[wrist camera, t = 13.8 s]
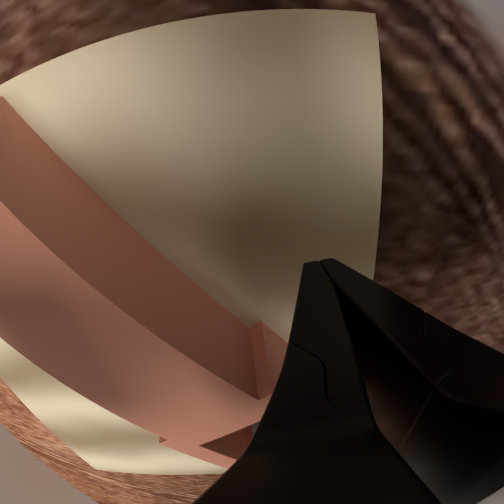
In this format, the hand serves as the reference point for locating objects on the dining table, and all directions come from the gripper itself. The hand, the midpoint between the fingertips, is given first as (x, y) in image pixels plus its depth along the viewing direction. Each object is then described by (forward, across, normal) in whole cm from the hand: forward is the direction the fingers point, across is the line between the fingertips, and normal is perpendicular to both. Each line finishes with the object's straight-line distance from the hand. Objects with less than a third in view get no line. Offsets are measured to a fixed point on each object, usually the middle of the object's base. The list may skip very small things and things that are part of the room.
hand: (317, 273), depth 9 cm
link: (+1, +5, +1) cm, 6 cm away
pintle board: (+2, +7, +5) cm, 9 cm away
